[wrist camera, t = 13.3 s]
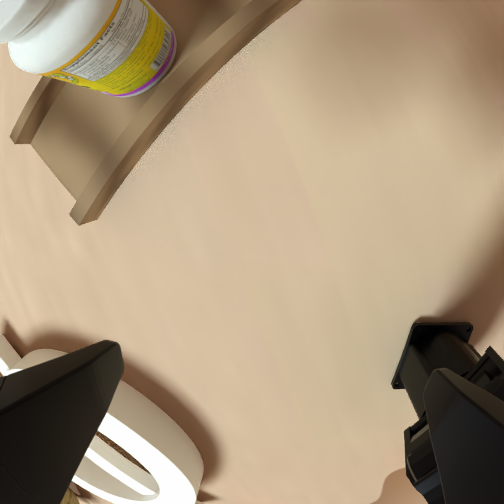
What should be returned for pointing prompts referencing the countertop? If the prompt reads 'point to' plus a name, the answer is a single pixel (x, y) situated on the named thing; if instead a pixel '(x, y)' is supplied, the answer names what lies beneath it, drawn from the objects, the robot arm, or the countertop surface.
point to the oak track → (134, 101)
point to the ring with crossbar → (129, 446)
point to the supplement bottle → (90, 42)
